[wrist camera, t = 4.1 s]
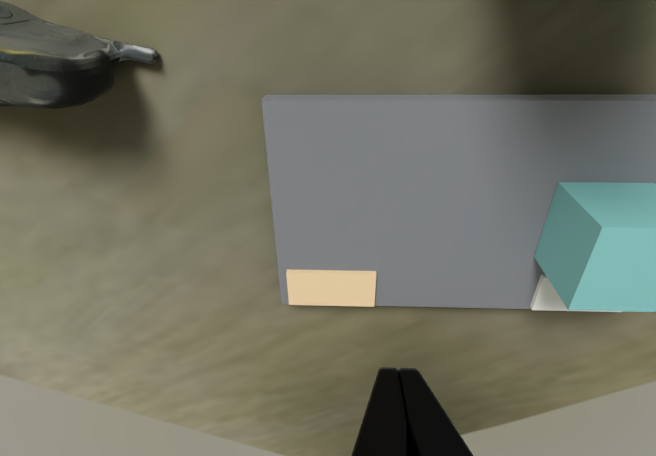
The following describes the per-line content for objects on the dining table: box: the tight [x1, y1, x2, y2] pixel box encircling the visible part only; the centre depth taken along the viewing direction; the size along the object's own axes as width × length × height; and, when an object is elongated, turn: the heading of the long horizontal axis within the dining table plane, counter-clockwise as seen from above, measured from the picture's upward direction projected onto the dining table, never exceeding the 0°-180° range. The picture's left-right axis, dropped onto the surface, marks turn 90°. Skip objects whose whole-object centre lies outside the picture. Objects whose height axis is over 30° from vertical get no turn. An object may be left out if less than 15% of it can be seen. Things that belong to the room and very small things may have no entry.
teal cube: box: [534, 182, 656, 312], centre depth 19 cm, size 4×4×4 cm
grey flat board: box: [262, 94, 656, 312], centre depth 21 cm, size 20×12×1 cm, turn 91°
